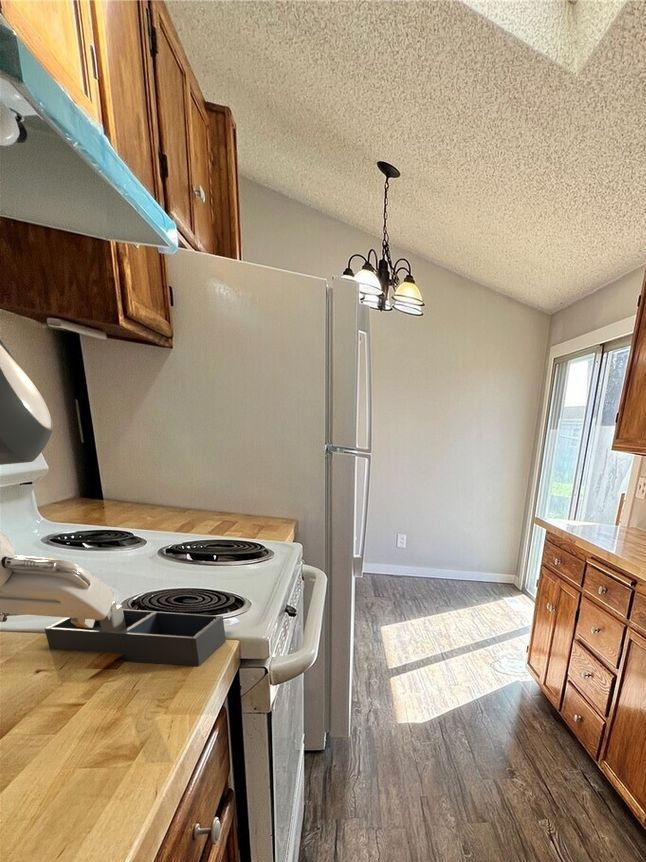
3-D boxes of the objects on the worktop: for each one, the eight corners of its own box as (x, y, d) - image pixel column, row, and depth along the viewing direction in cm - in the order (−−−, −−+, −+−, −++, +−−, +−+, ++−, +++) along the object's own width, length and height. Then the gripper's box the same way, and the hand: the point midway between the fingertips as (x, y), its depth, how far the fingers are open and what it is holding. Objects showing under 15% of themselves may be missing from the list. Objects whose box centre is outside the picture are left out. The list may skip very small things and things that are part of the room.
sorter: (51, 657, 74) (43, 628, 73) (94, 632, 83) (88, 606, 81) (199, 666, 77) (195, 638, 75) (225, 641, 85) (223, 616, 84)
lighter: (114, 632, 82) (103, 579, 79) (127, 632, 82) (117, 580, 79) (95, 650, 76) (82, 594, 72) (110, 650, 76) (98, 594, 73)
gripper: (79, 538, 56) (144, 602, 68) (-153, 517, 53) (-40, 588, 66) (60, 593, 53) (132, 649, 66) (-183, 574, 51) (-59, 637, 64)
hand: (45, 619), depth 66 cm, fingers open, 8 cm apart
